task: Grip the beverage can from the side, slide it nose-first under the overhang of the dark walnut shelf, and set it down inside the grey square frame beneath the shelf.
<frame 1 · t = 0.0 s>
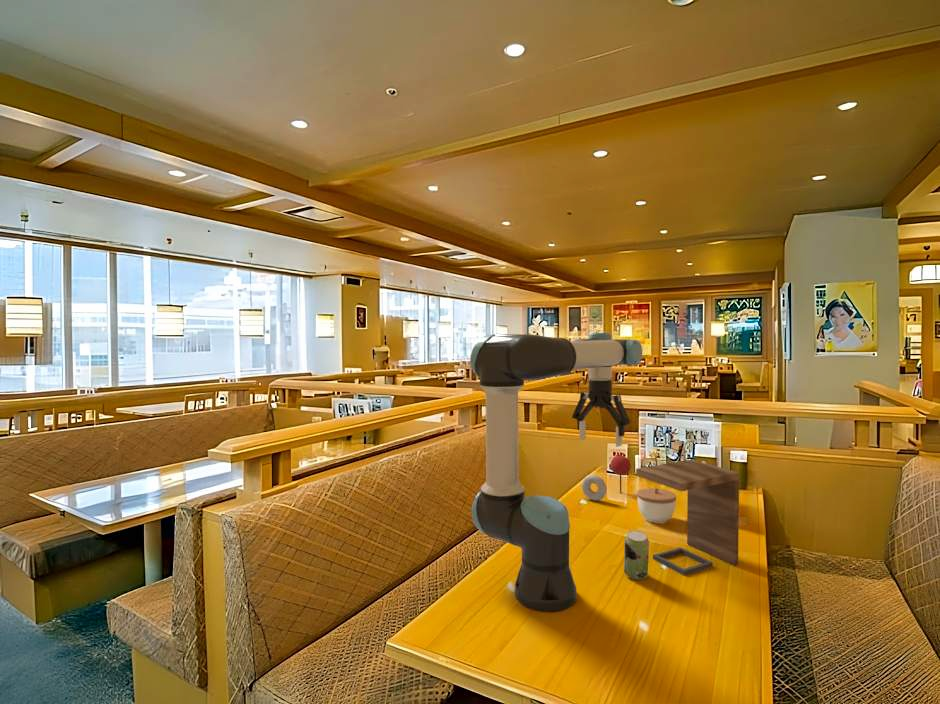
hand: (600, 442, 169), 28 cm above the table, tool pointing down, fingers open, 13 cm apart
lidded bowl: (656, 520, 175), on the table
walnut shelf: (686, 561, 143), on the table
donut: (594, 500, 196), on the table
grey square frame: (682, 562, 143), on the table
beverage can: (636, 578, 135), on the table
clutch purse: (715, 511, 184), on the table
lollipop: (620, 493, 204), on the table
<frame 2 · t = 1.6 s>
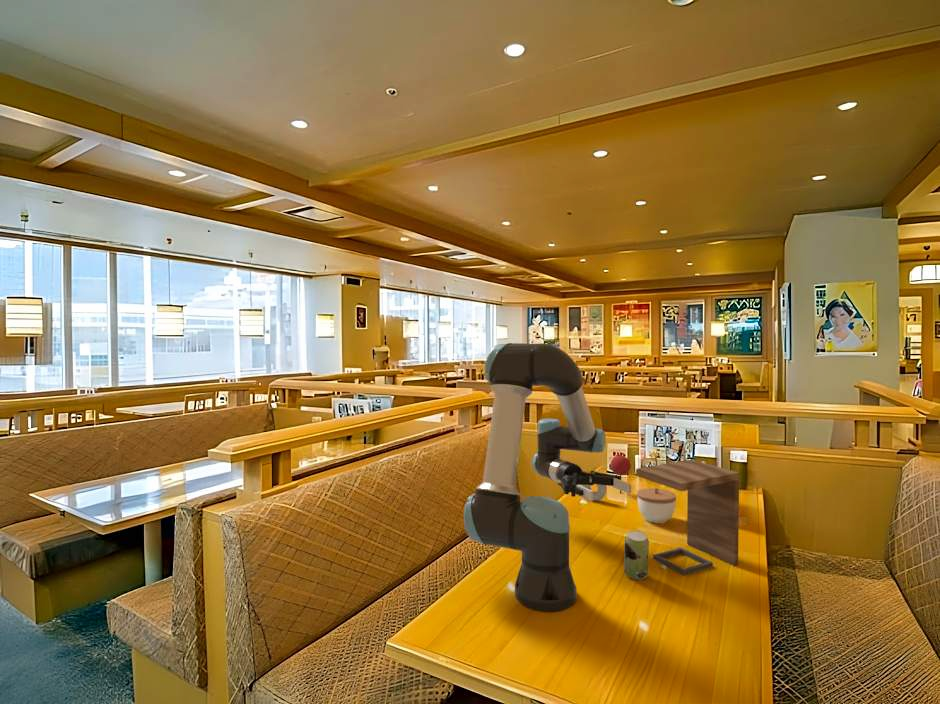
hand: (611, 492, 143), 20 cm above the table, tool horizontal, fingers open, 13 cm apart
nothing on the table moved.
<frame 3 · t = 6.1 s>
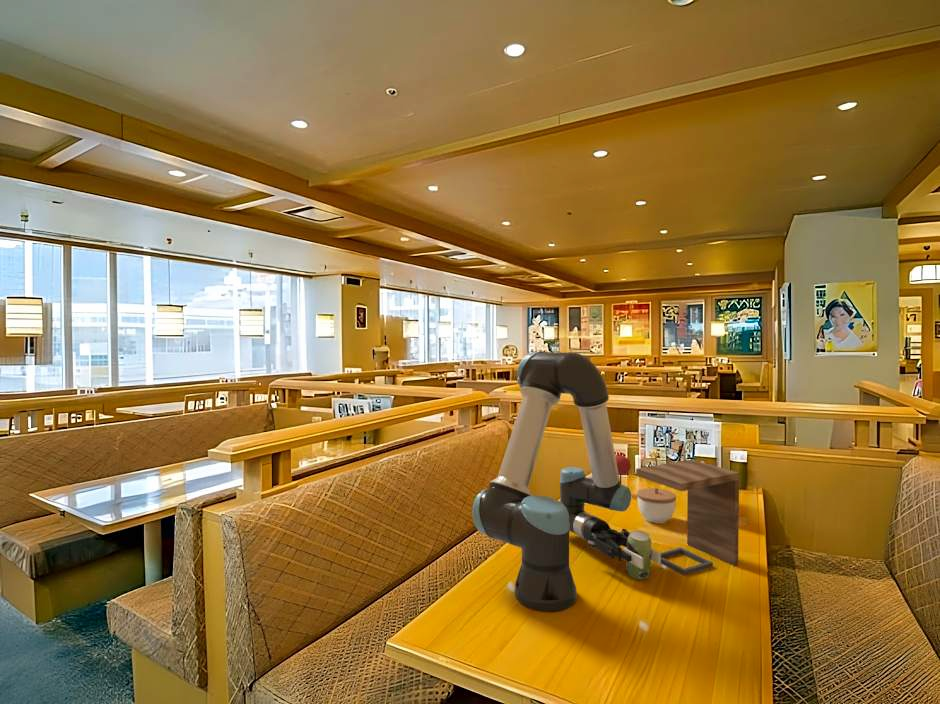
hand: (650, 560, 130), 7 cm above the table, tool horizontal, fingers closed on beverage can, 5 cm apart
beverage can: (638, 577, 135), on the table, touching gripper
everything else where it was.
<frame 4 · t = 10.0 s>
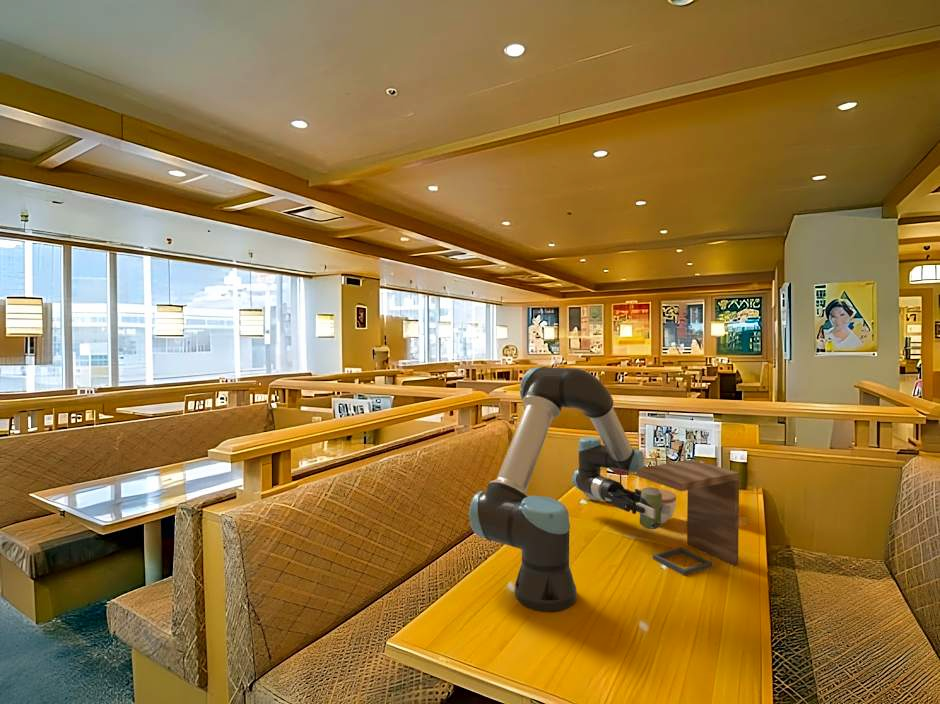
hand: (661, 512, 149), 12 cm above the table, tool horizontal, fingers closed on beverage can, 5 cm apart
beverage can: (650, 528, 154), point 5 cm above the table, touching gripper
everything else where it was.
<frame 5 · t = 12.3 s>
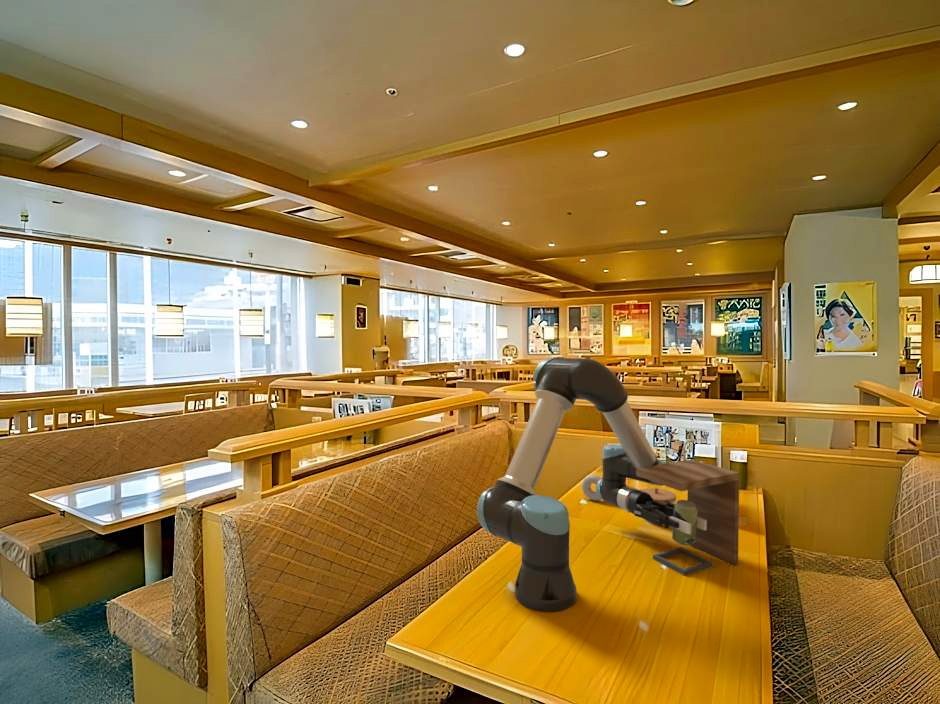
hand: (697, 527, 138), 12 cm above the table, tool horizontal, fingers closed on beverage can, 5 cm apart
beverage can: (684, 544, 143), point 5 cm above the table, touching gripper
everything else where it was.
when the fingers open (8 cm above the table, at t = 13.6 s): beverage can drops 1 cm, resting in grey square frame.
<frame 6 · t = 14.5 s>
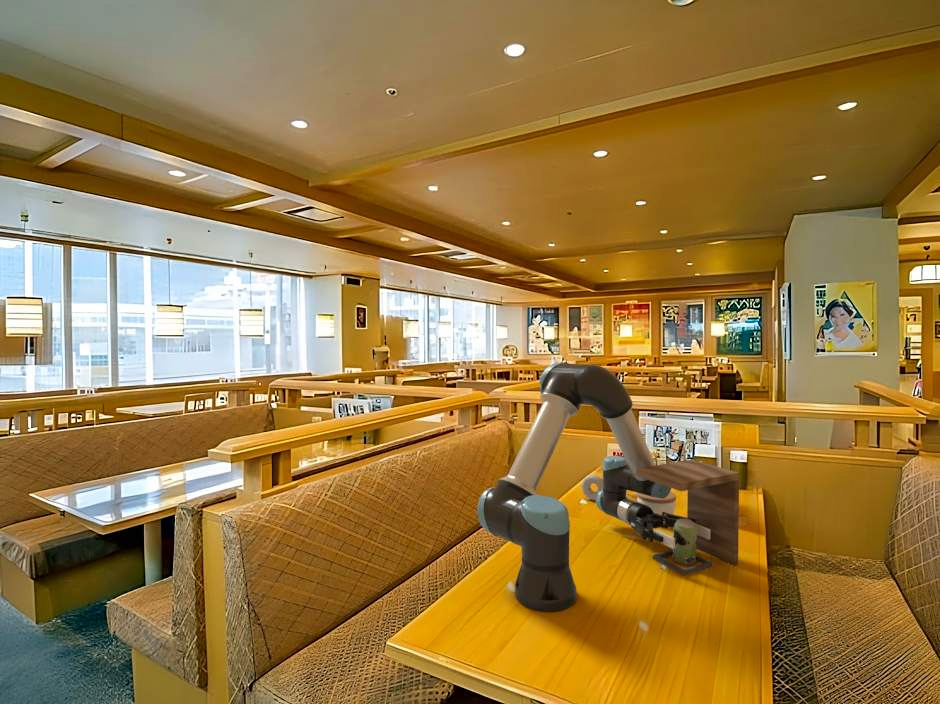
hand: (692, 539, 139), 8 cm above the table, tool horizontal, fingers open, 13 cm apart
beverage can: (684, 563, 143), resting in grey square frame
everything else where it was.
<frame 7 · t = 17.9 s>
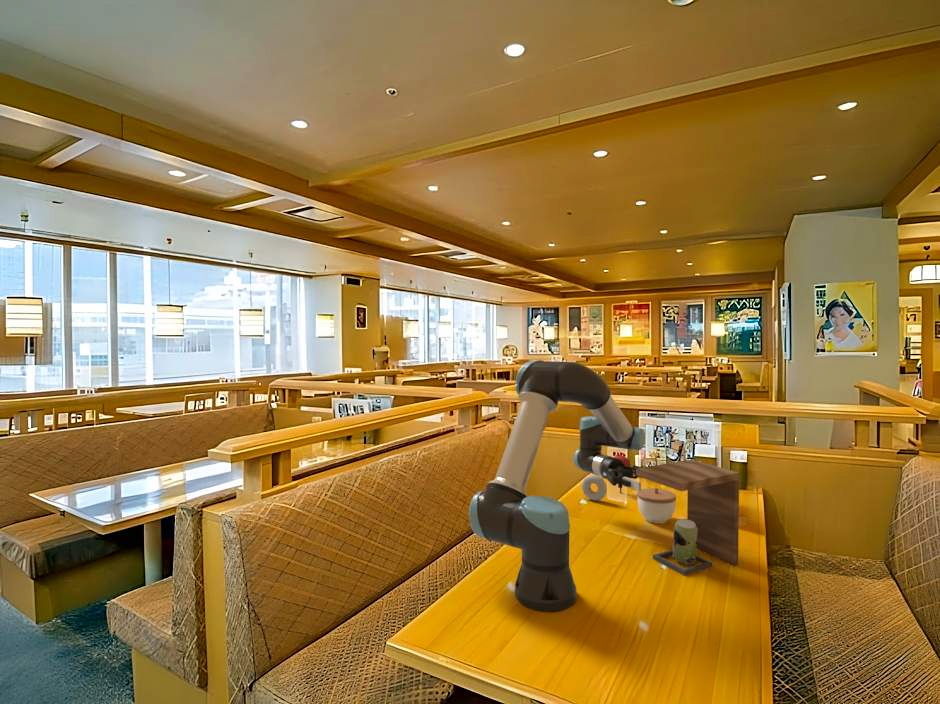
hand: (657, 484, 151), 19 cm above the table, tool horizontal, fingers open, 13 cm apart
nothing on the table moved.
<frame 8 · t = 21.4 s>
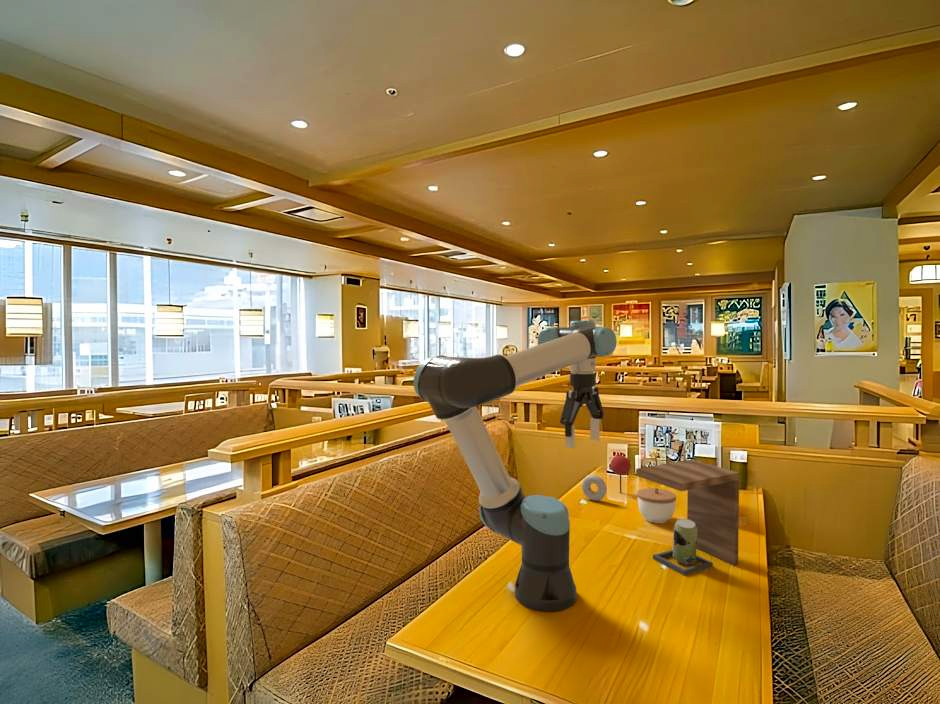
hand: (582, 443, 152), 32 cm above the table, tool pointing down, fingers open, 13 cm apart
nothing on the table moved.
at the end: beverage can 0.8 cm off-centre on the grey square frame, point 0.0 cm above the grey square frame's base; beverage can tilted 0°; the gripper is holding nothing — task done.
